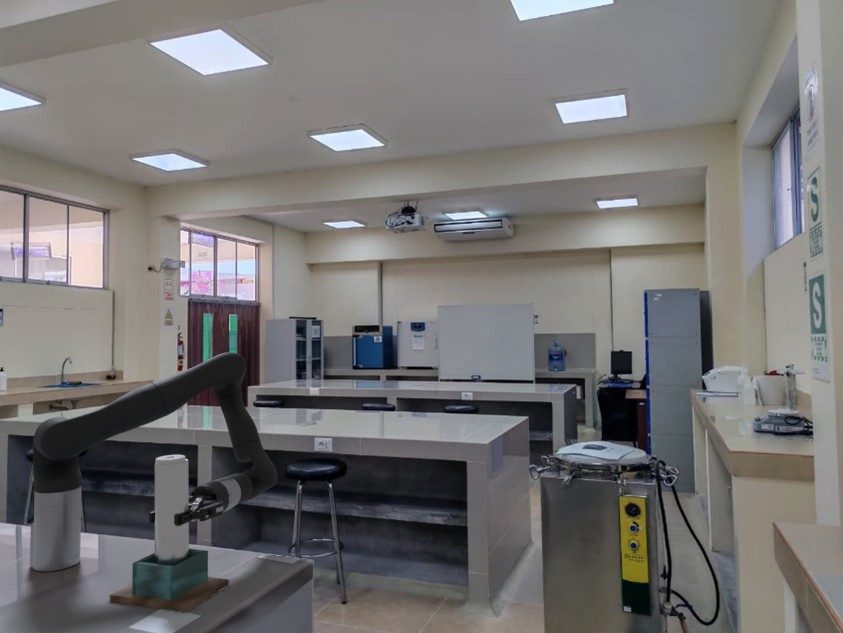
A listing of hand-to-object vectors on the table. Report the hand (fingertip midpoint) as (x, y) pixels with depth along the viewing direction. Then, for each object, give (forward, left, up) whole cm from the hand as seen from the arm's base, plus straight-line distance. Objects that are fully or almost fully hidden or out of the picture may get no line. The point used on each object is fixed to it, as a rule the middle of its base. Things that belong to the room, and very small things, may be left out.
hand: (163, 519), depth 119 cm
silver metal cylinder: (0, +3, -13) cm, 13 cm away
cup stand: (0, +2, -15) cm, 16 cm away
